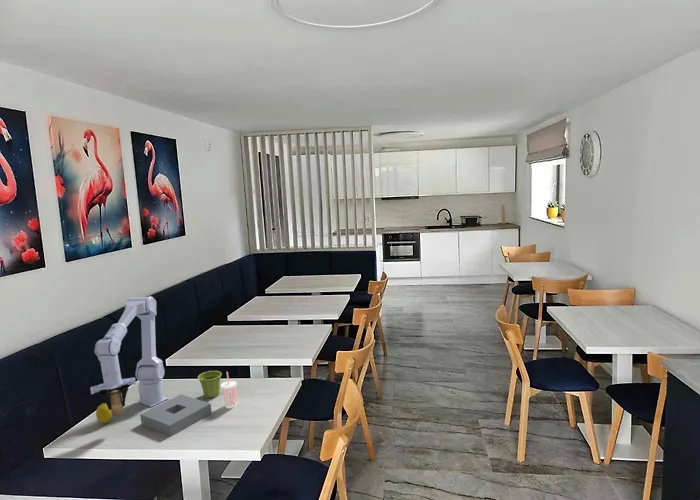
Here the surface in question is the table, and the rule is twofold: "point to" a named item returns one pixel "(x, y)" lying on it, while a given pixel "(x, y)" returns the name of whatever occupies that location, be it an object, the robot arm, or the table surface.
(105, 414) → the lemon
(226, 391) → the beverage cup
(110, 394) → the peg
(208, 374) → the plant pot
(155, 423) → the socket block
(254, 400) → the table surface
